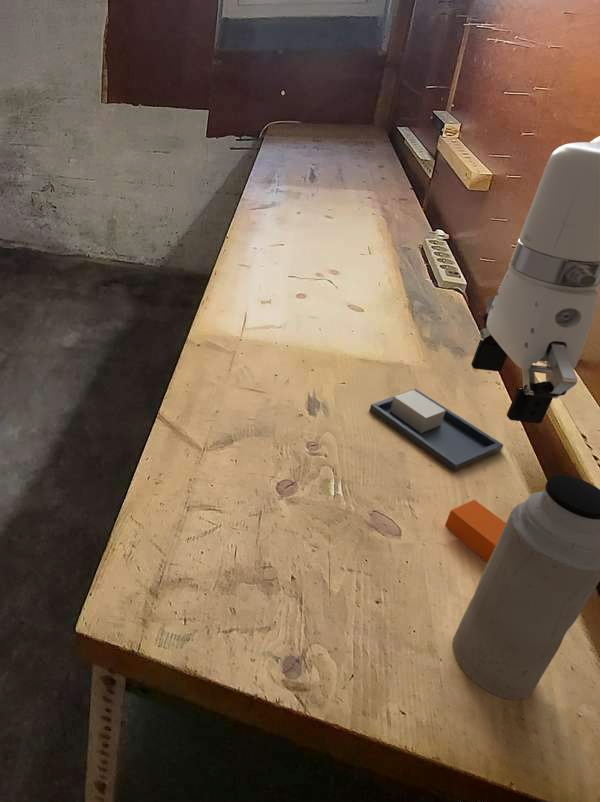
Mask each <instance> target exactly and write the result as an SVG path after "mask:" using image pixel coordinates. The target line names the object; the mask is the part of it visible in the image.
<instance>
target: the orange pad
mask: <svg viewBox="0 0 600 802" xmlns="http://www.w3.org/2000/svg"><path fill="white" fill-rule="evenodd" d="M444 524H445V526H446V527H447V528H448V529H450V530H451V531H452V533H454V534H455V535H454V536H455V537H456V538H457V539H459V540H460V541H461V542H462V543H464V544H465V545H466V547H468V548H469V549H470V550H472V551H473V552H474V553H475V554H477V555H478V556H479V557H481V558H482V559H483V560H484V561H485V562H486V563H488V562H489V559H490V557H491V555H492V553H493V551H494V548H495V546H496V544H497V542H498V540H499V538H500V535H501V533H502V531H503V529H504V527H505V525H506V522H505V521H504V520H502V519H501V518H500V517H499V516H497V515H496V514H495V513H493V512H492V511H491V510H489V509H488V508H486V507H485V506H484V505H483V504H481V503H480V502H478V500H476V499H472V500H470V501H468V502H465V503H464V504H461V505H460V506H457V507H455V508H453V509H451V510H450V511H449V514H448V517H447V519H446V521H445V523H444Z"/></svg>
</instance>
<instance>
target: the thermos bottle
mask: <svg viewBox="0 0 600 802" xmlns="http://www.w3.org/2000/svg"><path fill="white" fill-rule="evenodd" d="M544 486H545V489H544V490H543V491H537V492H534V493H532V494H530V495H529V496H528V497H527V499H526V500H524V501H523V502H521V503H518V504H516V505H515V506H514V507H513V508H512V510H511V512H510V514H509V516H508V519H507V520H506V522H505V523H506V525H505V527H504V529H503V531H502V533H501V535H500V538H499V540H498V542H497V544H496V546H495V548H494V551H493V553H492V555H491V557H490V559H489V562H487V563H486V565H485V568H484V570H483V572H482V574H481V577H480V579H479V581H478V584H477V586H476V589H475V592H474V594H473V595H472V597H471V599H470V601H469V603H468V605H467V608H466V609H465V611H464V614H463V615H462V618H461V620H460V622H459V624H458V626H457V629H456V631H455V633H454V635H453V637H452V642H451V643H452V644H451V645H452V651H453V654H454V656H455V659H456V661H457V663H458V664H459V666H460V667H461V669H462V670H463V672H465V674H466V675H467V676H468V677H469V678H470V679H471V680H472V681H474V683H476V684H477V685H478V686H480V687H481V688H483V689H484V690H486V691H487V692H489V693H491V694H493V695H495V696H498V697H500V698H503V699H508V700H516V701H517V700H522V699H526V698H528V697H530V695H531V694H532V693H533V692H534V690H535V689H536V687H537V685H538V684H539V683H540V681H541V679H542V677H543V675H544V673H545V672H546V671H547V669H548V668H549V665H550V664H551V663H552V660H553V659H554V657H555V656H556V654H557V652H558V651H559V649H560V647H561V645H562V642H563V640H564V637H565V636H566V634H567V632H568V631H569V630H570V628H571V627H572V626H573V625H574V624H575V622H576V621H577V619H578V617H579V616H580V615H581V613H582V612H583V610H584V608H585V606H586V604H587V603H588V601H589V599H590V598H591V596H592V594H594V591H595V590H596V588H597V586H598V585H599V583H600V488H599V487H597V486H595V485H594V484H591V483H590V482H588V481H586V480H585V479H584V480H583V479H581V478H578V477H575V476H571V475H565V474H555V475H552V476H550V477H549V478H548V479H547V480H546V484H545V485H544Z"/></svg>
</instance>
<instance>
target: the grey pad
mask: <svg viewBox="0 0 600 802" xmlns="http://www.w3.org/2000/svg"><path fill="white" fill-rule="evenodd" d="M405 392H406V393H405ZM405 392H402V393H403V394H402V393H400V395H399V394H396V395H397V396H396V395H393V396H394V399H393V402H392V405H391V409H390V412H392V413H393V414H394V415H396V416H397V417H399V418H400V419H402V420H403V421H404V422H406V423H407V424H409V425H410V426H412V427H413V428H414V429H416V430H417V431H419V432H420V433H423V432H425V431H428V430H430V429H433V428H435V427H438V426H440V425H441V423H442V420H443V417H444V414H445V412H446V410H444V409H443V408H441V407H440V406H438V405H436V404H435V403H433V402H432V401H430V400H429V399H427V398H426V397H424V396H422V395H421V394H419V393H418V392H416V391H415V390H413V389H411V391H410V390H408V392H407V391H405Z"/></svg>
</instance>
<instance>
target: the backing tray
mask: <svg viewBox="0 0 600 802" xmlns="http://www.w3.org/2000/svg"><path fill="white" fill-rule="evenodd" d="M411 390H415V391H416V392H418V393H419V394H421V395H422V396H424V397H426V398H427V399H429V400H430V401H432V402H433V403H435V404H436V405H438V406H440V407H441V408H443V409H444V410H446V412H445V414H444V417H443V420H442V423H441V425H440V426H438V427H435V428H433V429H430V430H428V431H425V432H423V433H420V432H419V431H417V430H416V429H414V428H413V427H412V426H410V425H409V424H407V423H406V422H404V421H403V420H402V419H400V418H399V417H397V416H396V415H394V414H393V413H392V412H390V409H391V405H392V402H393V399H394V396H397V395H400V394H403V393H406V392H408V391H411ZM411 390H408V391H404V392H402V393H400V394H399V393H398V394H396V395H393V396H390V397H388V398H385V399H383V400H379V401H377V402H374V403H371V404H370V407H369V413H371V414H373V415H374V416H375V417H376V418H378V419H380V421H382V422H384V423H385V424H386V425H388V427H390V428H392V429H393V430H394V431H396V432H397V433H398V434H400V435H401V436H403V437H404V438H406V439H407V440H408V441H410V442H411V443H413V444H414V445H415V446H417V447H418V448H419V449H421V450H422V451H424V452H425V453H426V454H428V455H429V456H430V457H432V459H433V458H434V460H436V461H437V462H439V463H440V464H441V465H443V466H444V467H445V468H447V469H448V470H450V472H453V473H456V472H458V471H459V470H462V469H465V468H466V467H469V466H471V465H473V464H476V463H478V462H480V461H482V460H485V459H487V458H490V457H492V456H494V455H496V454H499V453H500V452H502V450H503V447H504V444H503V443H502V442H500V441H498V439H496V438H494V437H492V436H491V435H489V434H488V433H486V432H484V431H482V430H481V429H479V428H478V427H477V426H475V425H473V424H472V423H470V422H468V421H467V420H465V419H464V418H462V417H461V416H459V415H458V414H456V413H454V412H453V411H451V410H449V409H448V408H447V407H445V406H444V405H441V404H440V403H438V401H436V400H434V399H433V398H431V397H429V396H428V395H426V394H425V393H424V392H422V391H420V390H418V389H416V388H414V389H411Z"/></svg>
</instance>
